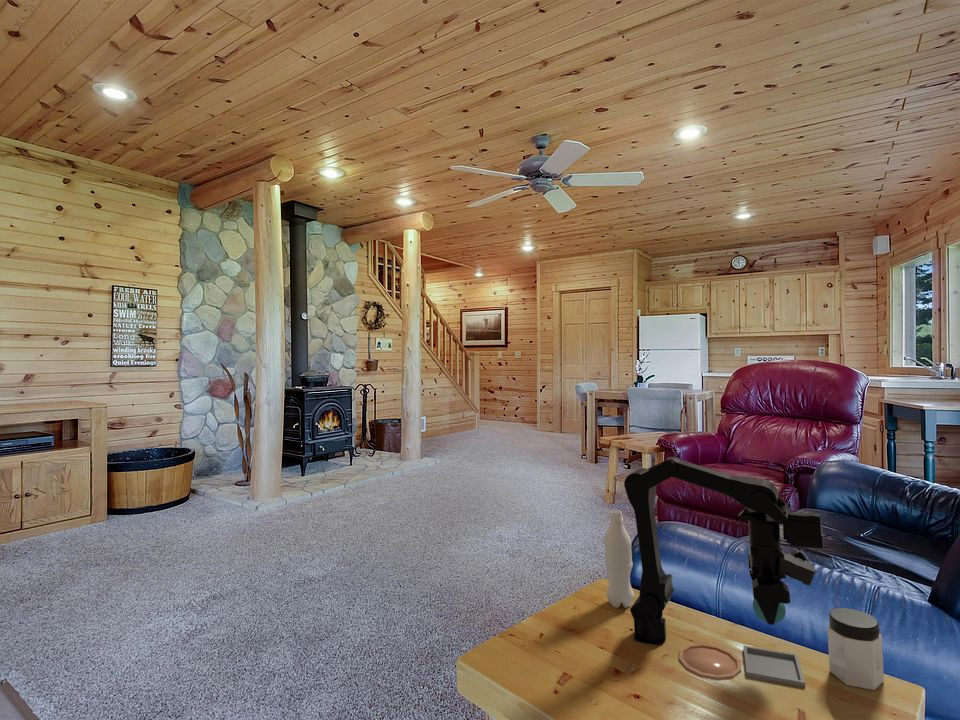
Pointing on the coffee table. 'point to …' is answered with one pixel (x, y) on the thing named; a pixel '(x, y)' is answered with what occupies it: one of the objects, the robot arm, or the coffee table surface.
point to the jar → (855, 648)
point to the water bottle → (618, 562)
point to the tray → (773, 666)
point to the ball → (779, 615)
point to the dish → (710, 661)
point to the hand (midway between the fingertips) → (769, 617)
